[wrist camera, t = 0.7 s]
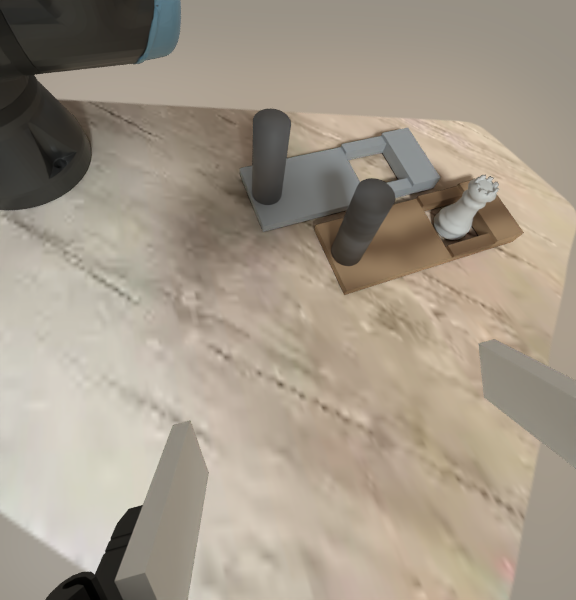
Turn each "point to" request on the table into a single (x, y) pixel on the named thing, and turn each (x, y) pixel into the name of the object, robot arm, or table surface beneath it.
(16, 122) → the robot arm
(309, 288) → the table surface
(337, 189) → the grey board with post
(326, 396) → the table surface
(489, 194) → the rook chess piece
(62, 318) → the table surface
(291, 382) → the table surface
